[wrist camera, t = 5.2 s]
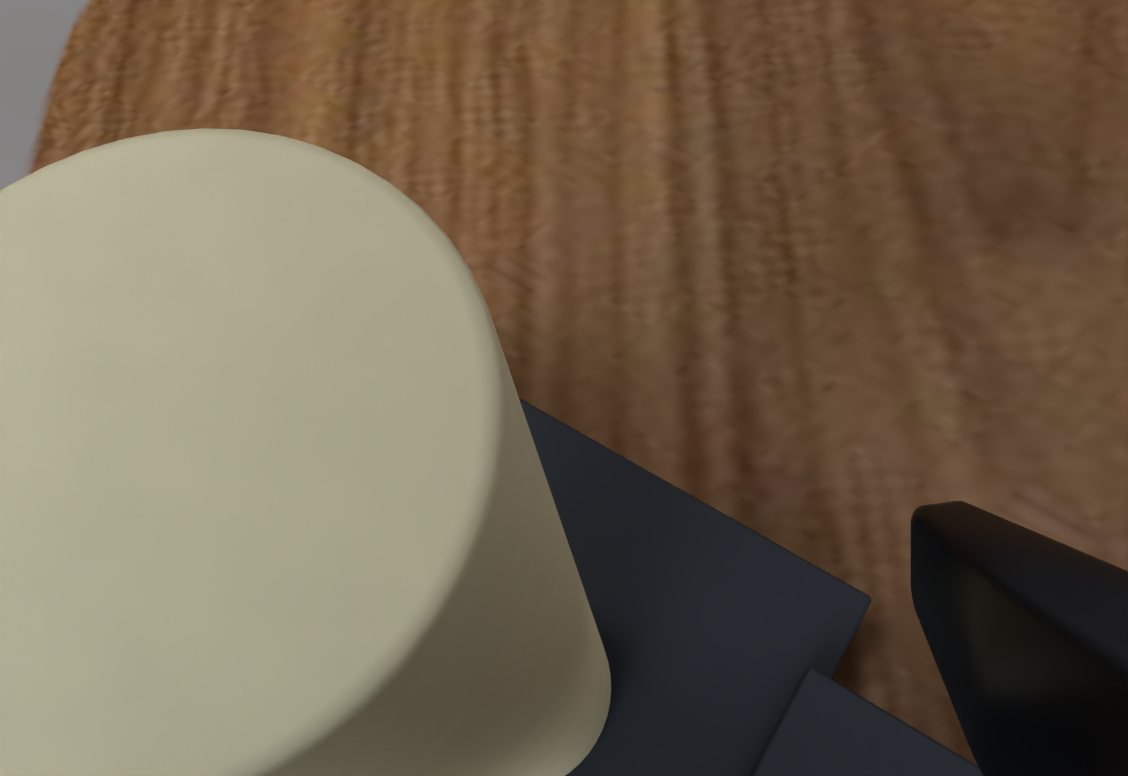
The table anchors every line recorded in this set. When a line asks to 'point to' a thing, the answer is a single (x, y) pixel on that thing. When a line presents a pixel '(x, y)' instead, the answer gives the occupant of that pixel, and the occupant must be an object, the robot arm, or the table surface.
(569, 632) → the tongue pad
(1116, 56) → the table surface
